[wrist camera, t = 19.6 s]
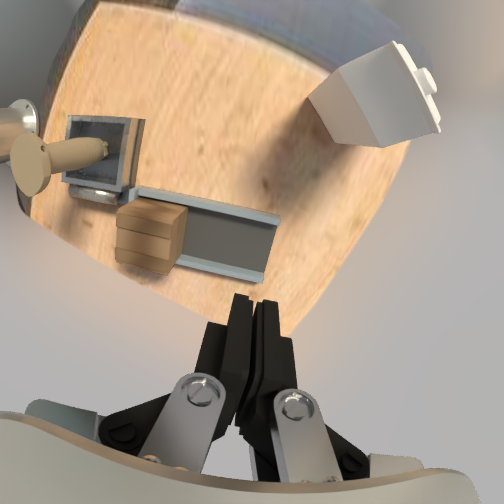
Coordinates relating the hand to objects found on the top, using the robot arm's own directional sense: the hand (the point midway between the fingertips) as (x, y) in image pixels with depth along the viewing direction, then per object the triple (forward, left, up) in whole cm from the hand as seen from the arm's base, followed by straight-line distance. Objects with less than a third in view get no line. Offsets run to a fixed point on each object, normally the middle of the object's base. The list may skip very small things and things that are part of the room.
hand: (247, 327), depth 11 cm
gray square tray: (-23, +1, -27) cm, 35 cm away
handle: (-23, +2, -26) cm, 34 cm away
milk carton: (+8, +14, -27) cm, 32 cm away
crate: (-12, -7, -27) cm, 30 cm away
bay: (-6, -7, -27) cm, 29 cm away
